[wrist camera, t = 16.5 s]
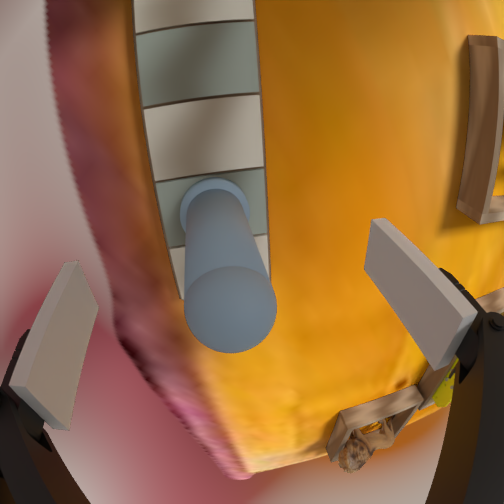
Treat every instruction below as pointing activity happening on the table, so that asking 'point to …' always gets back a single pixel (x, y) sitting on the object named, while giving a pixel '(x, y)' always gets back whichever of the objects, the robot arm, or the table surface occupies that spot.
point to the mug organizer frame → (483, 131)
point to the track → (201, 108)
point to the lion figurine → (364, 446)
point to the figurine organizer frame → (374, 417)
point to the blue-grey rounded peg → (224, 269)
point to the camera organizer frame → (431, 380)
